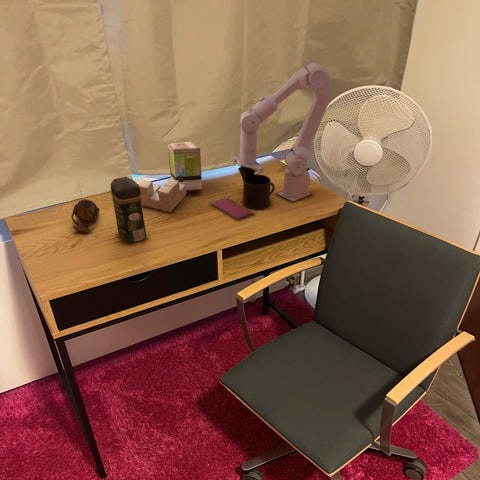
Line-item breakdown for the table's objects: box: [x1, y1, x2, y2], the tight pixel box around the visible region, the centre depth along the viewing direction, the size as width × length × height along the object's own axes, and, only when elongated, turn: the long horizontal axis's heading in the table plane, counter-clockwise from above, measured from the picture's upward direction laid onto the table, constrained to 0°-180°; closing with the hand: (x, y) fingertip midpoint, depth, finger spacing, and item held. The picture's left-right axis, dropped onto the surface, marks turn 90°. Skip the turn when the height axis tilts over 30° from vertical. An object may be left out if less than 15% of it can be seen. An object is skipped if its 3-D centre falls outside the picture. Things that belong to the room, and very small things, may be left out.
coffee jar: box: [110, 176, 147, 244], centre depth 145 cm, size 10×8×19 cm
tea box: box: [167, 141, 203, 191], centre depth 176 cm, size 15×10×15 cm
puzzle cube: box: [137, 178, 187, 213], centre depth 167 cm, size 12×12×8 cm
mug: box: [242, 173, 276, 210], centre depth 169 cm, size 9×12×9 cm
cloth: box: [210, 198, 255, 221], centre depth 167 cm, size 7×15×1 cm, turn 40°
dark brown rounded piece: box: [71, 198, 101, 234], centre depth 155 cm, size 7×13×10 cm
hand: (247, 186), depth 173 cm, fingers closed
